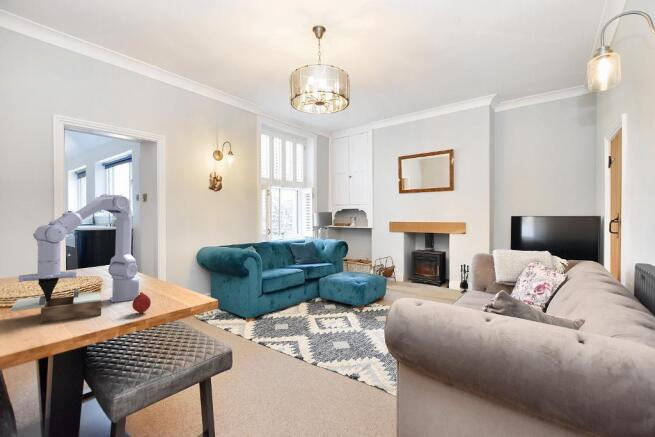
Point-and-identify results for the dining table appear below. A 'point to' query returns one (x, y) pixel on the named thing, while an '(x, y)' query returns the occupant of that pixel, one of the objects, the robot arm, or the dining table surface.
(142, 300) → the onion
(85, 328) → the dining table surface
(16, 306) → the outer panel
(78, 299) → the inner panel
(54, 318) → the box
